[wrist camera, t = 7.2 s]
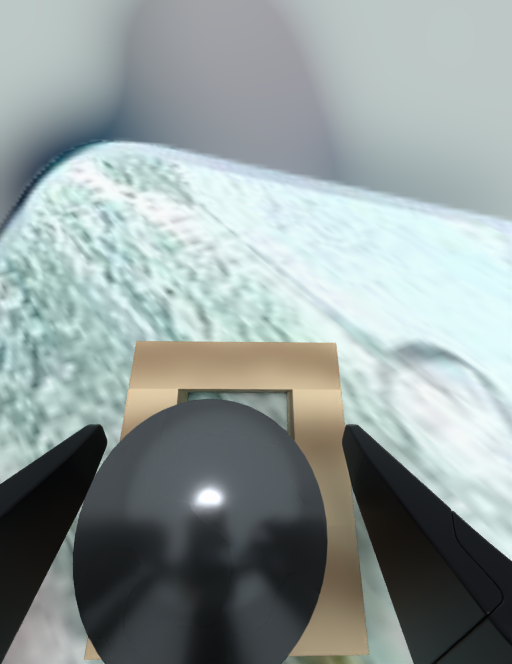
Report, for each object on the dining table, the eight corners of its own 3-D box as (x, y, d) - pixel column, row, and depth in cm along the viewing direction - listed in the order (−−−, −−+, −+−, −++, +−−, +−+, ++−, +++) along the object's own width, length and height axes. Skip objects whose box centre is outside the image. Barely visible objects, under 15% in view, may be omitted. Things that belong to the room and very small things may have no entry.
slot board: (348, 613, 14) (369, 654, 11) (113, 616, 13) (84, 659, 11) (325, 352, 19) (336, 342, 16) (151, 350, 18) (136, 341, 16)
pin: (283, 476, 16) (369, 636, 4) (207, 503, 15) (84, 766, 4) (260, 399, 17) (280, 373, 6) (190, 421, 17) (65, 438, 5)
